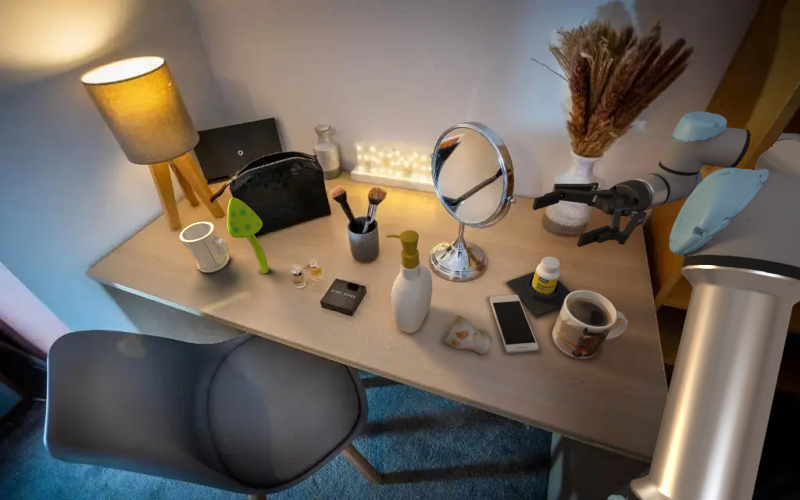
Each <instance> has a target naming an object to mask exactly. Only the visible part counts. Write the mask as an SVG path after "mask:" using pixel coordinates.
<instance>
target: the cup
mask: <svg viewBox="0 0 800 500" xmlns="http://www.w3.org/2000/svg"><path fill="white" fill-rule="evenodd" d="M178 236H179V240H180V241H181V243H182V244H183V246H185V248H186V249H187V250H188V252H189V253H190V255H191V256H192V258H193V259H194V260H195V262H196V267H197V268H198V270H199V271H200V272H202V273H214V272H217V271H219V270H222V269H223V268H224V267H225V266H226V265H227V264H228V262H229V261H230V256H229V250H230V249H229V245H228V243H227V241H226V240H225V239H223V238H219V235H218V233H217V231H216V228H215V226H214V224H213V223H212V222H210V221H209V222H208V221H199V222H195V223H192V224H190V225H188V226H186V227H185V228H184V229H183V230H182V231H181V232H180V233H179V235H178Z"/></svg>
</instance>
